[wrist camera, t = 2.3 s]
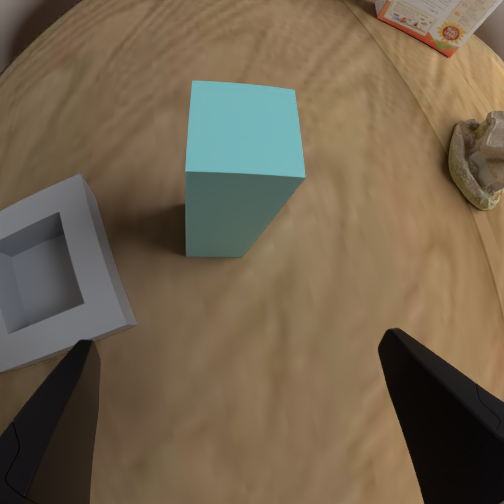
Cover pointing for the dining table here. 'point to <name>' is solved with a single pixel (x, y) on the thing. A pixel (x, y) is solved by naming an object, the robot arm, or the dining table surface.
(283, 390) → the dining table surface
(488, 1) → the cracker box
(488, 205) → the ceramic model
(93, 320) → the socket
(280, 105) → the plug
